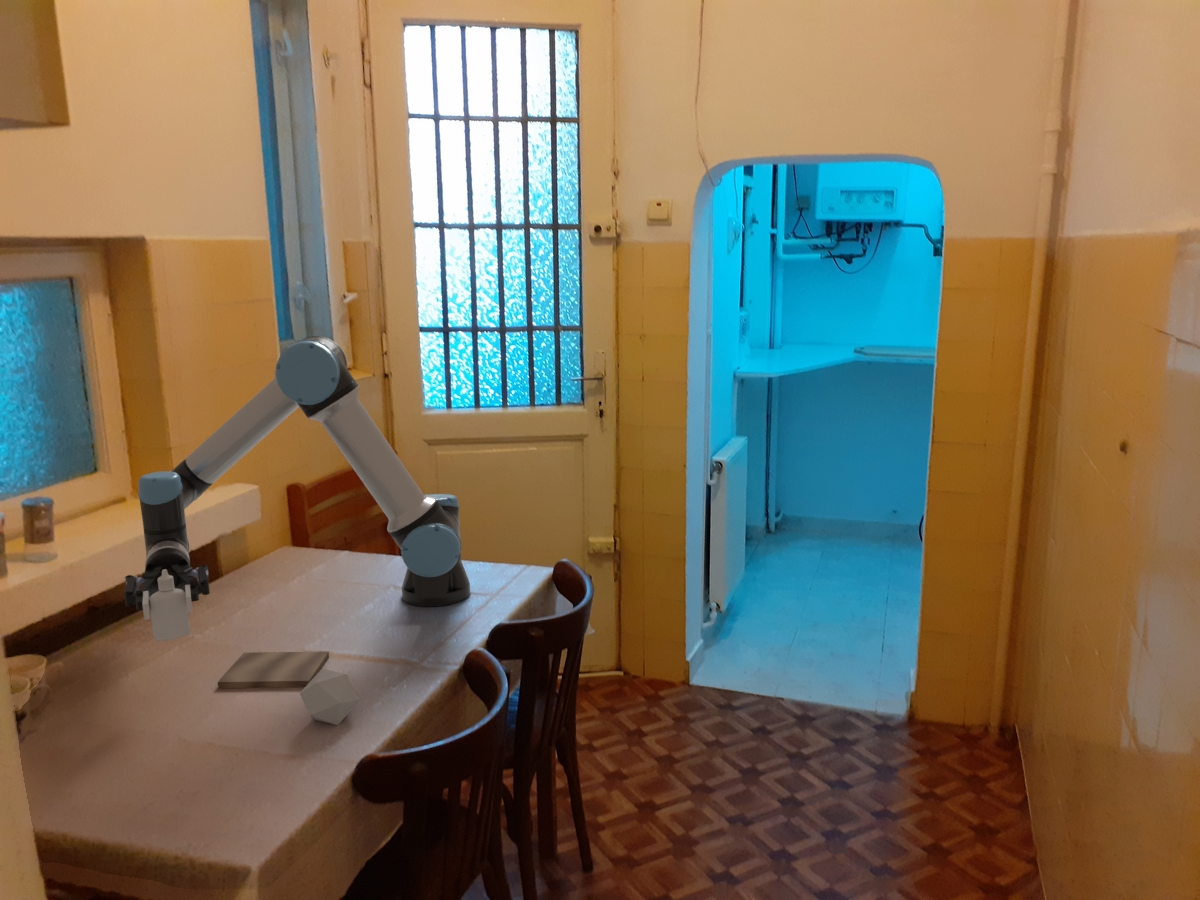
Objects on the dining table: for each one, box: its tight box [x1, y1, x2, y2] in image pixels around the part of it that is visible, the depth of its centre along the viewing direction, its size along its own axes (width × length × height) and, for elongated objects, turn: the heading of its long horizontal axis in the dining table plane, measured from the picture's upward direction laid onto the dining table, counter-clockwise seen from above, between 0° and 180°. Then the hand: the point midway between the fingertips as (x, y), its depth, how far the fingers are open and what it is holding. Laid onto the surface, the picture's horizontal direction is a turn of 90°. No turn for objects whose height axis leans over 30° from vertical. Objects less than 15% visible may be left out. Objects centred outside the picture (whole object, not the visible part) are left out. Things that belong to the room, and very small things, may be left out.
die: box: [299, 668, 360, 726], centre depth 142 cm, size 8×9×10 cm
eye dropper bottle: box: [149, 569, 191, 642], centre depth 148 cm, size 4×6×12 cm
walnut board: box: [217, 650, 330, 689], centre depth 159 cm, size 16×12×1 cm
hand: (167, 608), depth 143 cm, fingers closed on eye dropper bottle, 6 cm apart
